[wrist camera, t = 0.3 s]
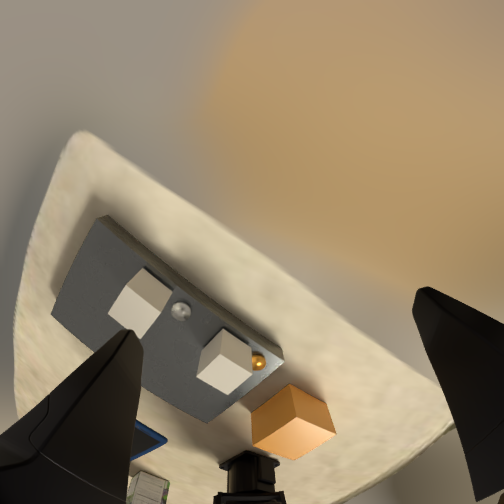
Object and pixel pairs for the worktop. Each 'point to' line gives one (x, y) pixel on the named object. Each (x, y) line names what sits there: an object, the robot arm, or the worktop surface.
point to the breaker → (140, 303)
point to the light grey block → (225, 362)
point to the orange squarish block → (291, 424)
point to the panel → (156, 321)
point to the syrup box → (147, 489)
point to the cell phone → (145, 440)
